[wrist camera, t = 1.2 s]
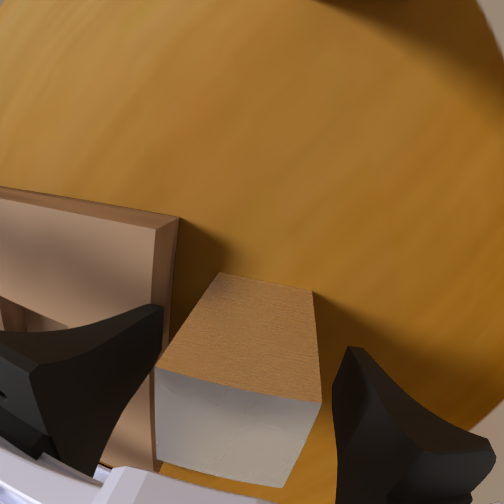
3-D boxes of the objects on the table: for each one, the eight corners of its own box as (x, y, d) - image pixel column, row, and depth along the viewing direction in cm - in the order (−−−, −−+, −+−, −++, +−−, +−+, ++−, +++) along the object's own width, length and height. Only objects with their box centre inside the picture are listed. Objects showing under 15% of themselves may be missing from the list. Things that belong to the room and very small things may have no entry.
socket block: (166, 455, 18) (154, 481, 15) (13, 385, 19) (-4, 401, 16) (179, 217, 13) (155, 229, 11) (-17, 183, 14) (-45, 189, 12)
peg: (290, 366, 15) (282, 487, 8) (208, 348, 15) (156, 458, 8) (312, 290, 13) (321, 403, 7) (219, 271, 14) (154, 366, 7)
